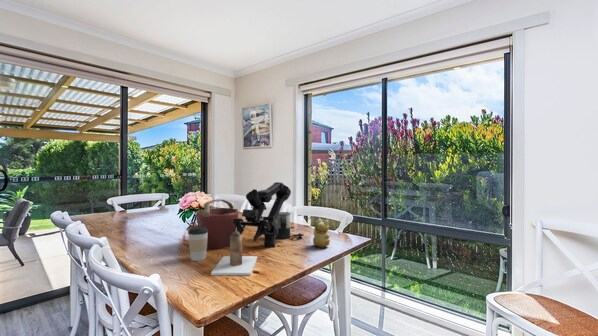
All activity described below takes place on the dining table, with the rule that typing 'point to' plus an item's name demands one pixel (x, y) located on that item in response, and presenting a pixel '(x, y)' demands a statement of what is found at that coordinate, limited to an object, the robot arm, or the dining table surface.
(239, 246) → the pepper mill
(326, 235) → the decorative figurine
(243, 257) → the ceramic tile
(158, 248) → the dining table surface
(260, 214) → the robot arm
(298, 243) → the dining table surface
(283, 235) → the milk frother
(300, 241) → the dining table surface
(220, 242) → the bucket
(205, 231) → the coffee cup
